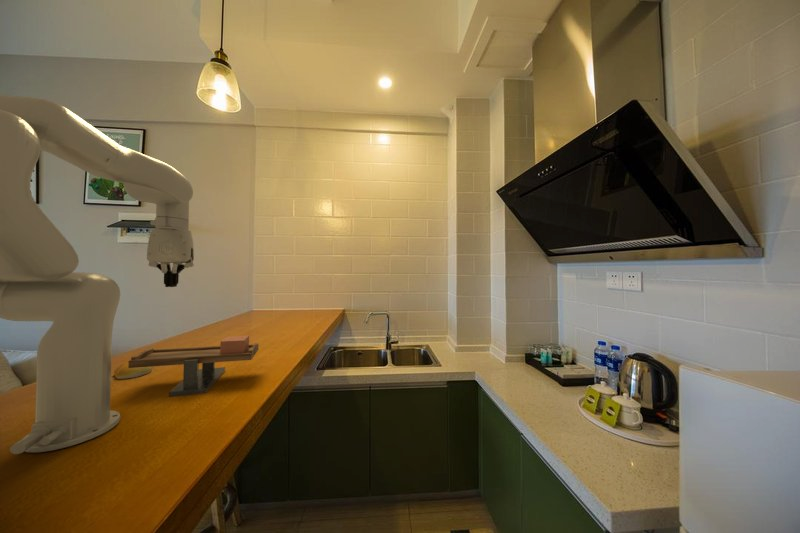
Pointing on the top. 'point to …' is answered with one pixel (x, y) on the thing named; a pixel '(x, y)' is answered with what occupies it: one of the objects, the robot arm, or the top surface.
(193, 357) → the balance beam
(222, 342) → the weight block
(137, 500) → the top surface
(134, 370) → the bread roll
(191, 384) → the balance stand
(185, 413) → the top surface
